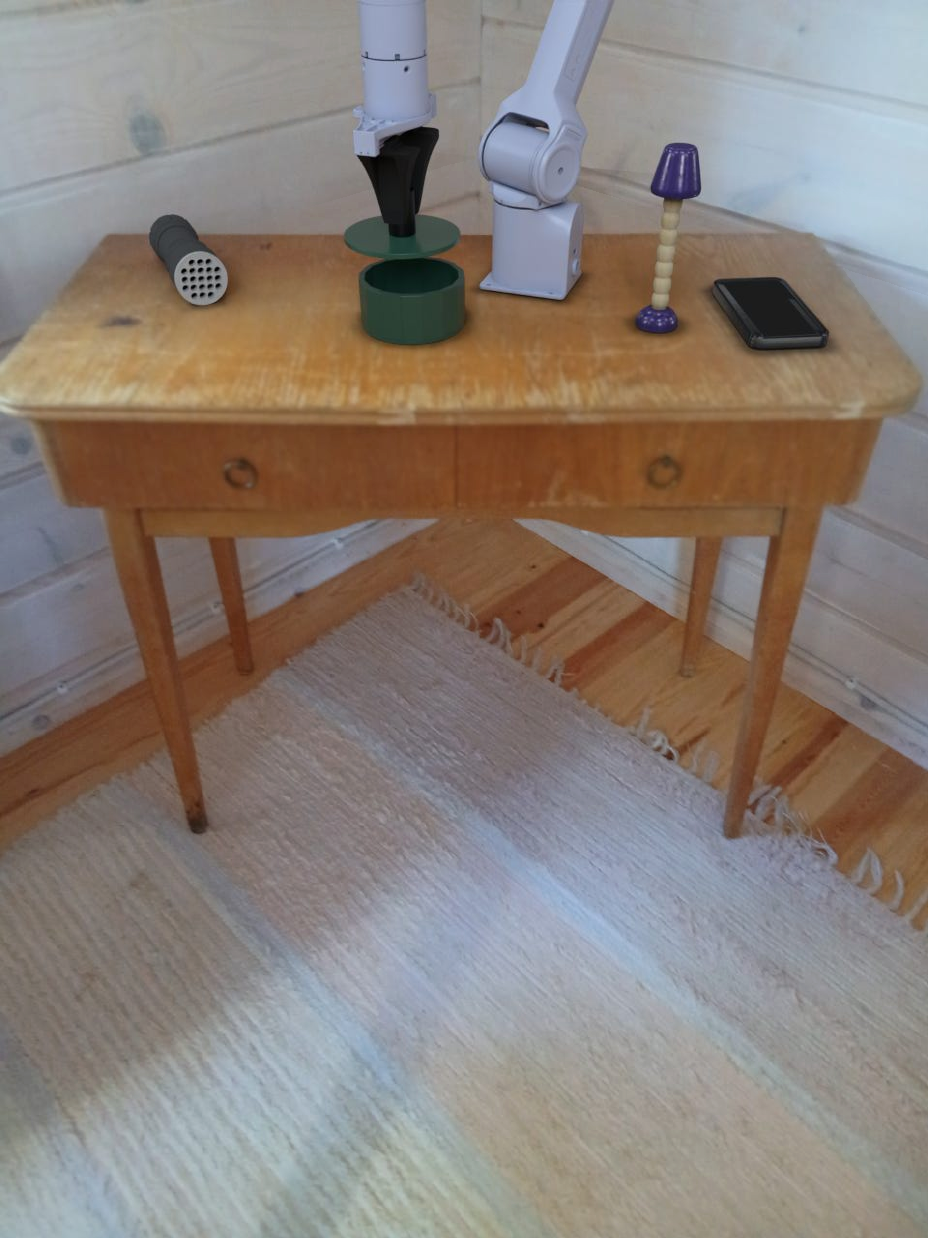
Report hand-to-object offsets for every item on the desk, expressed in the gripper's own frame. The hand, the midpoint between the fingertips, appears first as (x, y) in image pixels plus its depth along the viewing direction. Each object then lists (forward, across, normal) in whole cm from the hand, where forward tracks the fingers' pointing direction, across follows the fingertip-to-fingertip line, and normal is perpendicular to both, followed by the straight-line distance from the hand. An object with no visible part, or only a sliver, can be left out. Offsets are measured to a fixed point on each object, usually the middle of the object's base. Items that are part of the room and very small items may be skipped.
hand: (401, 217), depth 91 cm
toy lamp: (+10, -8, +24) cm, 28 cm away
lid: (+2, 0, 0) cm, 2 cm away
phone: (+10, -13, +35) cm, 38 cm away
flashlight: (+10, -2, -27) cm, 29 cm away
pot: (+10, 0, +1) cm, 10 cm away
